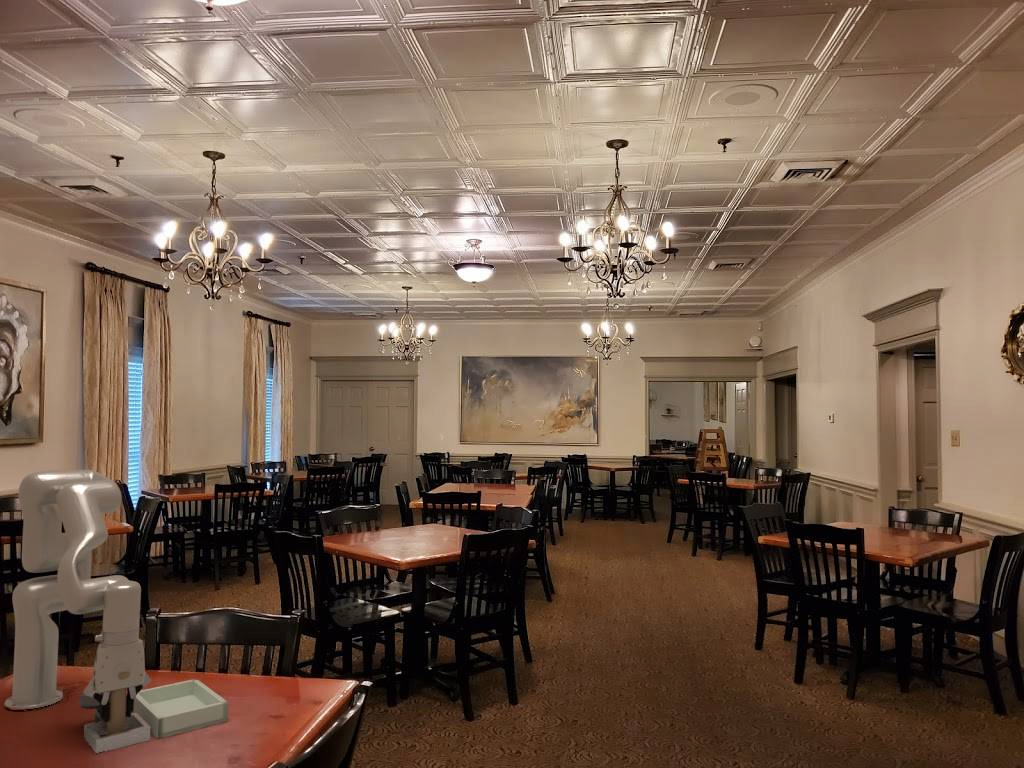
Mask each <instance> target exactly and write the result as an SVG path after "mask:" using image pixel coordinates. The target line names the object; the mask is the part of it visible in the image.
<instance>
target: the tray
mask: <svg viewBox="0 0 1024 768" xmlns="http://www.w3.org/2000/svg"><path fill="white" fill-rule="evenodd" d="M132 713H137V714H138V715H139V716H140V717H141V718H142V719H143V720H144V721H145V722H146V723H147V724H148V725H149V726H150V734H152V735H153V736H154V737H155V738H156V739H157V740H159V739H163V738H167V737H170V736H176V735H178V734H182V733H187V732H190V731H194V730H198V729H202V728H206V727H210V726H213V725H218V724H223V723H225V722H228V720H229V719H228V716H229V702H228V701H227V700H226V699H224V697H222V696H221V695H219V694H217V693H216V692H215V691H213V690H212V689H211V688H210V687H208V686H207V685H206V684H204V683H203V682H201V681H200V680H199V679H197V678H193V679H188V680H184V681H179V682H174V683H170V684H165V685H160V686H157V687H151V688H146V689H141V691H140V692H139V693H138V694H137V695H136V698H134V710H133V711H132V712H131V714H132Z"/></svg>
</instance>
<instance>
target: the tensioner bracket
mask: <svg viewBox="0 0 1024 768" xmlns="http://www.w3.org/2000/svg"><path fill="white" fill-rule="evenodd" d="M93 691H96V692H98V691H97V690H96V688H94V689H93ZM98 693H99V694H100V692H98ZM78 699H79V700H78V707H80V708H82V709H86V710H93V709H94V713H93V715H94V716H93V722H89V723H84V726H83V730H84V731H83V732H84V733H83V739H84V738H85V739H84V741H85V742H86V743H87V742H88V743H89V744H88V743H87V744H88V745H89V747H90V746H91V747H92V748H91V747H90V748H91V749H92V751H93V750H94V751H95V752H96V753H98V754H100V753H99V752H102V753H104V752H103V751H105V752H109V751H112V750H113V751H114V750H116V749H121V748H125V747H128V746H133V745H136V744H140V743H144V742H148V741H151V732H150V726H149V725H148V724H147V723H146V722H145V721H144V720H143V719H142V718H141V717H140V716H139V715H138V714H137V713H132V712H131V717H127V716H126V721H125V726H124V728H123V730H124V732H119V733H115V734H111V735H108V729H107V722H106V723H105V722H104V721H103V719H102V718H100V702H98V701H97V700H96V699H94V698H92V697H89V696H87V695H85V694H84V692H83V693H81V694H80V695H79V697H78ZM108 700H109V697H108ZM103 735H105V736H103ZM108 750H109V751H108ZM94 751H93V752H94ZM95 752H94V753H95ZM96 753H95V754H96Z"/></svg>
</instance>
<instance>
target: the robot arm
mask: <svg viewBox="0 0 1024 768" xmlns="http://www.w3.org/2000/svg"><path fill="white" fill-rule="evenodd" d="M122 497H123V496H122V492H121V489H120V487H119V486H118V484H117V483H116V482H115V481H114V480H112V478H109V477H108V476H105V475H104V474H102V473H100V472H98V471H96V470H93V469H67V470H66V469H63V470H61V469H60V470H59V469H58V470H43V471H35V472H32V473H29V474H27V475H25V477H23V479H22V480H21V482H20V484H19V488H18V501H19V502H18V503H19V506H20V509H21V512H22V519H23V527H22V543H21V544H22V546H21V563H22V568H23V569H24V570H25V571H26V572H28V573H34V574H37V573H38V574H39V573H47V572H48V573H49V572H54V571H57V574H54V575H53V574H52V575H45V576H38V577H33V578H30V579H26V580H23V581H22V582H20V583H19V584H17V585H16V587H15V588H14V589H13V591H12V605H13V613H14V625H15V626H14V629H15V631H14V653H13V675H12V676H13V677H12V694H11V695H12V696H10V697H8V698H6V700H5V701H4V706H5V705H6V706H7V707H11V708H18V709H19V708H20V709H26V708H38V707H43V708H45V707H44V706H47V707H49V706H48V705H50V706H52V705H55V704H56V702H57V703H59V702H60V701H61V700H63V696H64V695H63V694H64V693H63V691H61V690H59V689H57V675H58V660H59V659H58V658H59V655H58V653H59V635H60V634H59V627H58V625H57V624H56V622H54V620H52V618H51V617H50V614H53V613H58V612H64V611H67V612H69V613H70V614H73V615H84V614H88V613H93V612H98V611H99V612H100V611H103V615H102V630H101V632H100V634H97V635H94V641H95V642H100V643H99V644H98V646H97V650H96V654H95V659H94V664H93V672H92V678H91V679H90V681H89V683H88V684H87V685H86V687H85V688H84V689H83V693H84V694H85V695H87V696H89V697H92V698H94V699H96V700H97V701H98V702H100V718H102V719H103V721H104V722H105V723H106V722H108V721H109V710H110V704H109V703H108V697H109V693H110V691H115V690H120V689H125V688H126V707H127V709H126V716H127V717H131V714H132V711H133V710H134V698H136V695H137V694H138V693H139V692H140V691H141V690H143V688H145V687H146V686H147V685H148V684H150V683H151V681H152V679H151V677H150V676H149V675H148V673H147V672H146V667H145V666H146V665H145V664H146V663H145V649H144V642H143V639H141V638H139V635H140V617H141V616H140V614H141V599H142V598H141V597H142V595H141V593H142V587H141V585H140V583H139V582H138V581H134V580H129V578H128V577H126V576H124V575H121V574H118V575H117V574H115V575H108V576H101V577H96V578H92V577H91V576H92V557H93V556H92V554H93V553H92V550H94V549H96V548H98V547H99V546H101V545H102V544H103V543H105V542H106V540H107V539H108V537H109V532H108V529H107V526H106V523H105V522H106V521H105V519H104V517H103V514H110V513H115V512H116V511H118V510H119V509H120V507H121V505H122V501H123V500H122V499H123V498H122ZM55 504H56V505H57V507H56V505H55ZM62 525H63V528H64V532H62ZM124 672H130V675H129V677H128V678H126V679H119V677H118V674H119V673H124ZM94 689H96V690H97V691H98V692H100V694H99V693H98V692H96V691H93V690H94ZM58 701H59V702H58ZM54 703H55V704H54ZM51 704H52V705H51Z"/></svg>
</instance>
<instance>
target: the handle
mask: <svg viewBox="0 0 1024 768" xmlns="http://www.w3.org/2000/svg"><path fill="white" fill-rule="evenodd" d="M129 675H130V672H124V673H119V674H118V677H119V679H126V678H128V677H129ZM126 696H127V688H125V689H120V690H115V691H110V693H109V700H108V703H109V704H110V710H109V721H108V722H107V729H108V734H107V735H111V734H115V733H119V732H124V731H125V730H123V728H124V726H125V721H126V709H127V707H126Z"/></svg>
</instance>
